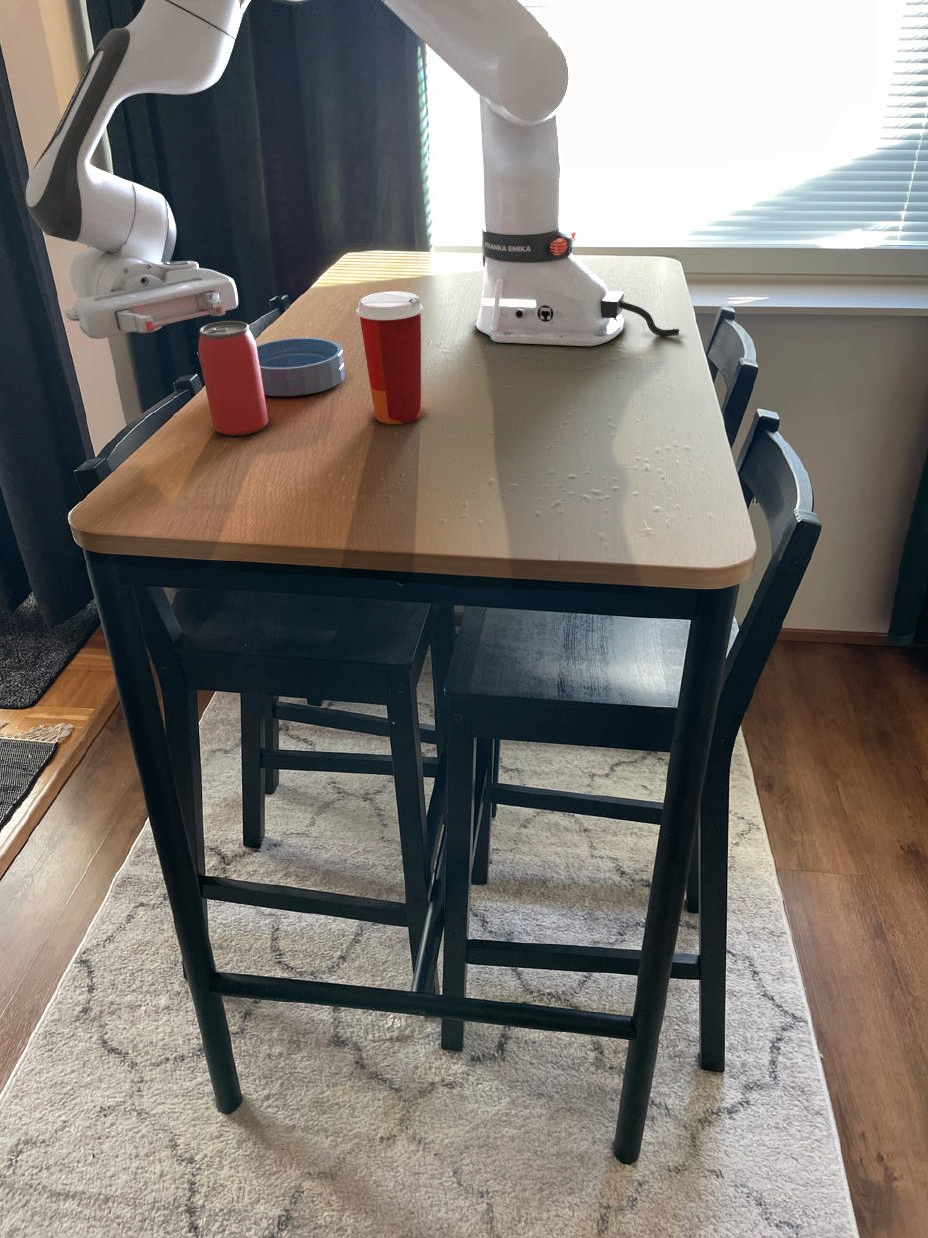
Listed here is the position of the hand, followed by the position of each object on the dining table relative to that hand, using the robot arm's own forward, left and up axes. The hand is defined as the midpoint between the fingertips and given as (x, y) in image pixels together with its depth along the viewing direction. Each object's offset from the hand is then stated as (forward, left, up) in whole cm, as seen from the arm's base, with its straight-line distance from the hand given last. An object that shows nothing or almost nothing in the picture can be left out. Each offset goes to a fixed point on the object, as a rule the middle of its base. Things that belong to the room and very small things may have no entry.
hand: (184, 316), depth 113 cm
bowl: (-7, -11, -11) cm, 17 cm away
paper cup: (-26, -5, -11) cm, 29 cm away
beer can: (-10, +5, -11) cm, 16 cm away
